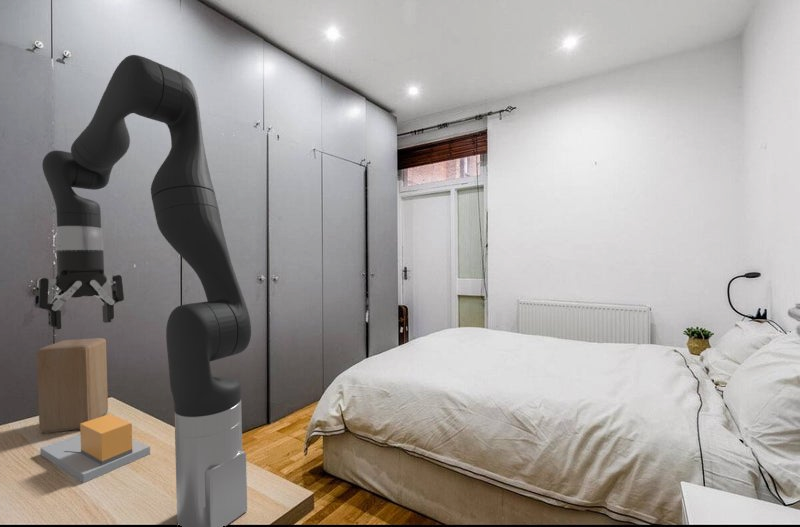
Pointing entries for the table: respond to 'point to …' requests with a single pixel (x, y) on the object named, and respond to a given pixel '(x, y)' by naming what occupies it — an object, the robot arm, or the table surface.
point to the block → (71, 383)
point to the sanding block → (106, 438)
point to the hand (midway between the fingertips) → (83, 325)
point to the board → (82, 466)
